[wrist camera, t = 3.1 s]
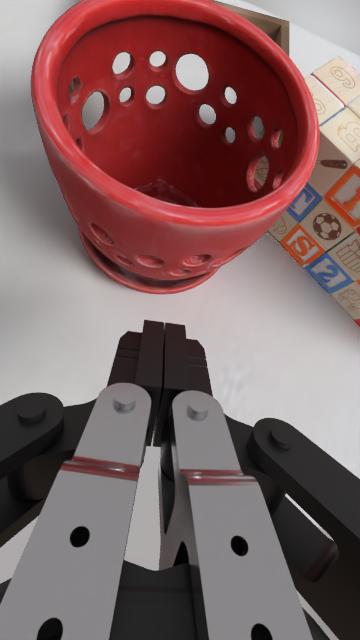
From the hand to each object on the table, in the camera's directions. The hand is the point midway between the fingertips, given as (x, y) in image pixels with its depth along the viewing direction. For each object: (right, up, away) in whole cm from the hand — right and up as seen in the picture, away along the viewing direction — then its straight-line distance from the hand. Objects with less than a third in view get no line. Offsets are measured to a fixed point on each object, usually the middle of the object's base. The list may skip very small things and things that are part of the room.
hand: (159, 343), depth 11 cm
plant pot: (-1, +8, +13) cm, 15 cm away
